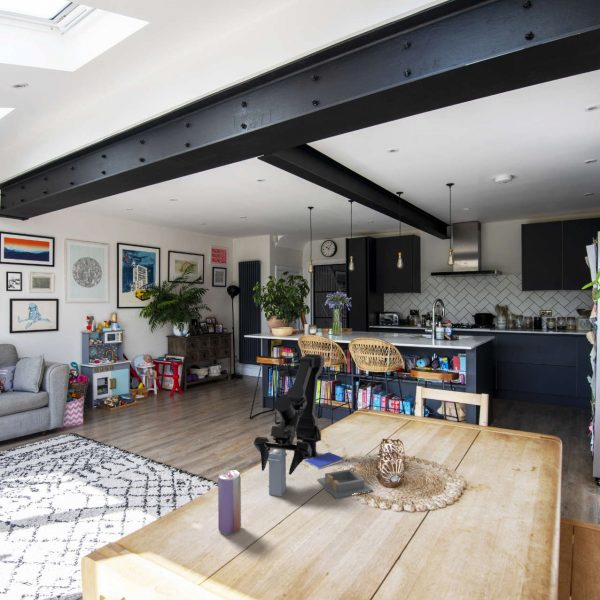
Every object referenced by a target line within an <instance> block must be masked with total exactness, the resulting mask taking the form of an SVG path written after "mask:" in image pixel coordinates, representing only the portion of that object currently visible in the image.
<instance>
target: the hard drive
mask: <svg viewBox="0 0 600 600" xmlns="http://www.w3.org/2000/svg"><path fill="white" fill-rule="evenodd" d="M343 461H344V458H343V457H342V456H340V455H337V454H335V453H332V452H330V451H329V452H325V453H322V454H320V455H319V454H318V456H316V457H312V458H307V459H306V460H305V459H304V460H303V462H304V463H305V464H307V465H309V466H311V467H313V468H314V469H317V470H320V469H323V468H326V467H329V466H332V465H335V464H337V463H341V462H343Z"/></svg>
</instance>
